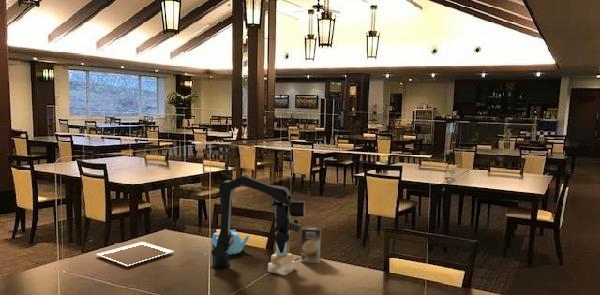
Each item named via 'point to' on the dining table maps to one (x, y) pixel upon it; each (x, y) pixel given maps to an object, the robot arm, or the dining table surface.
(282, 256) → the teal cylinder
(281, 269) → the birch base block
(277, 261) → the oak top block
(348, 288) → the dining table surface
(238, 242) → the teapot
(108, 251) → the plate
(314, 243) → the coffee box
